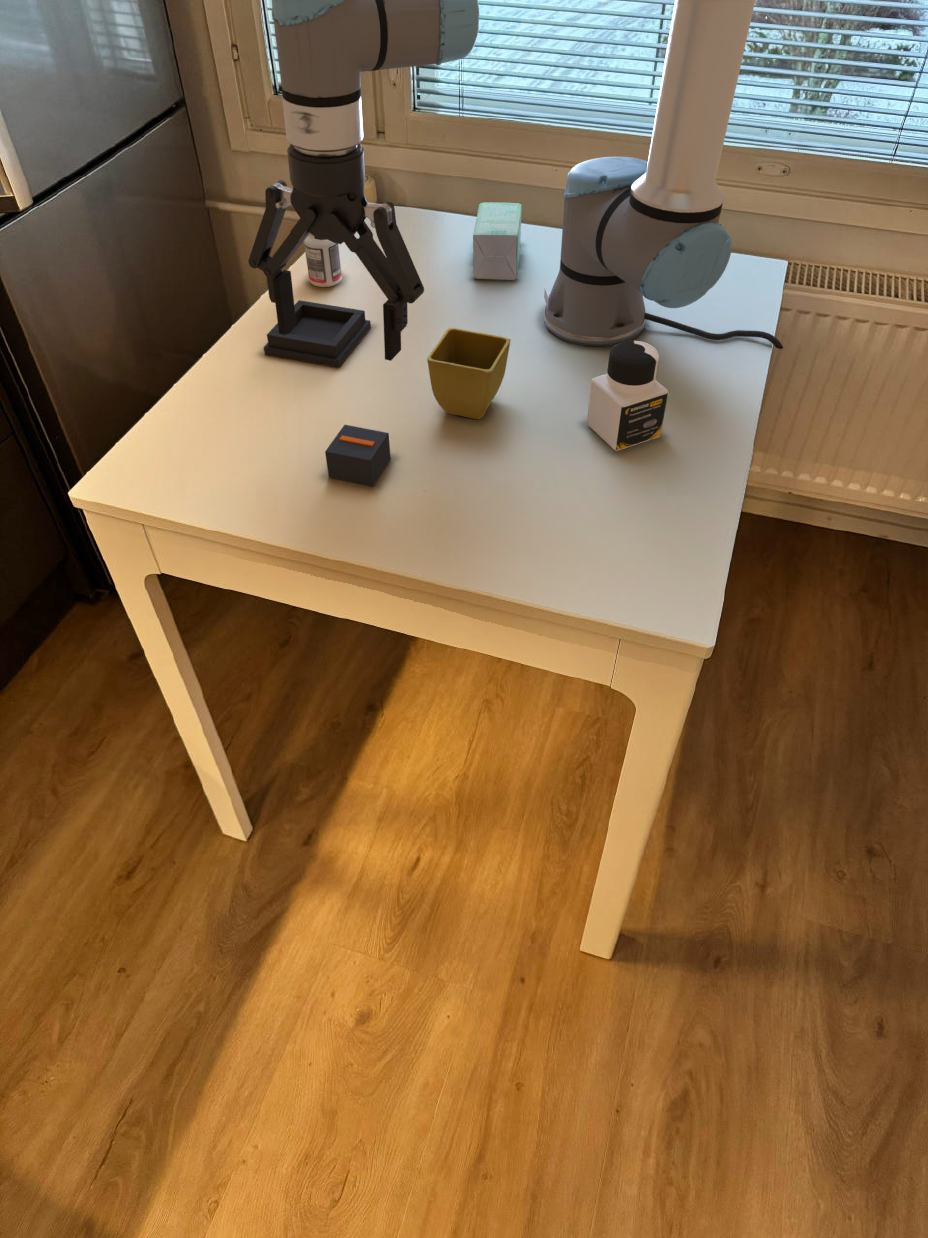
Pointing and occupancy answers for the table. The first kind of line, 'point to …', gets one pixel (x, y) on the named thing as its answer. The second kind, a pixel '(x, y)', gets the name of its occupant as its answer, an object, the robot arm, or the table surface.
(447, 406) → the flower pot
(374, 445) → the dark grey square block
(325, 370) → the table surface
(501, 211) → the box
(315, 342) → the base pad
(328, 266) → the pill bottle
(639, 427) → the medicine bottle
